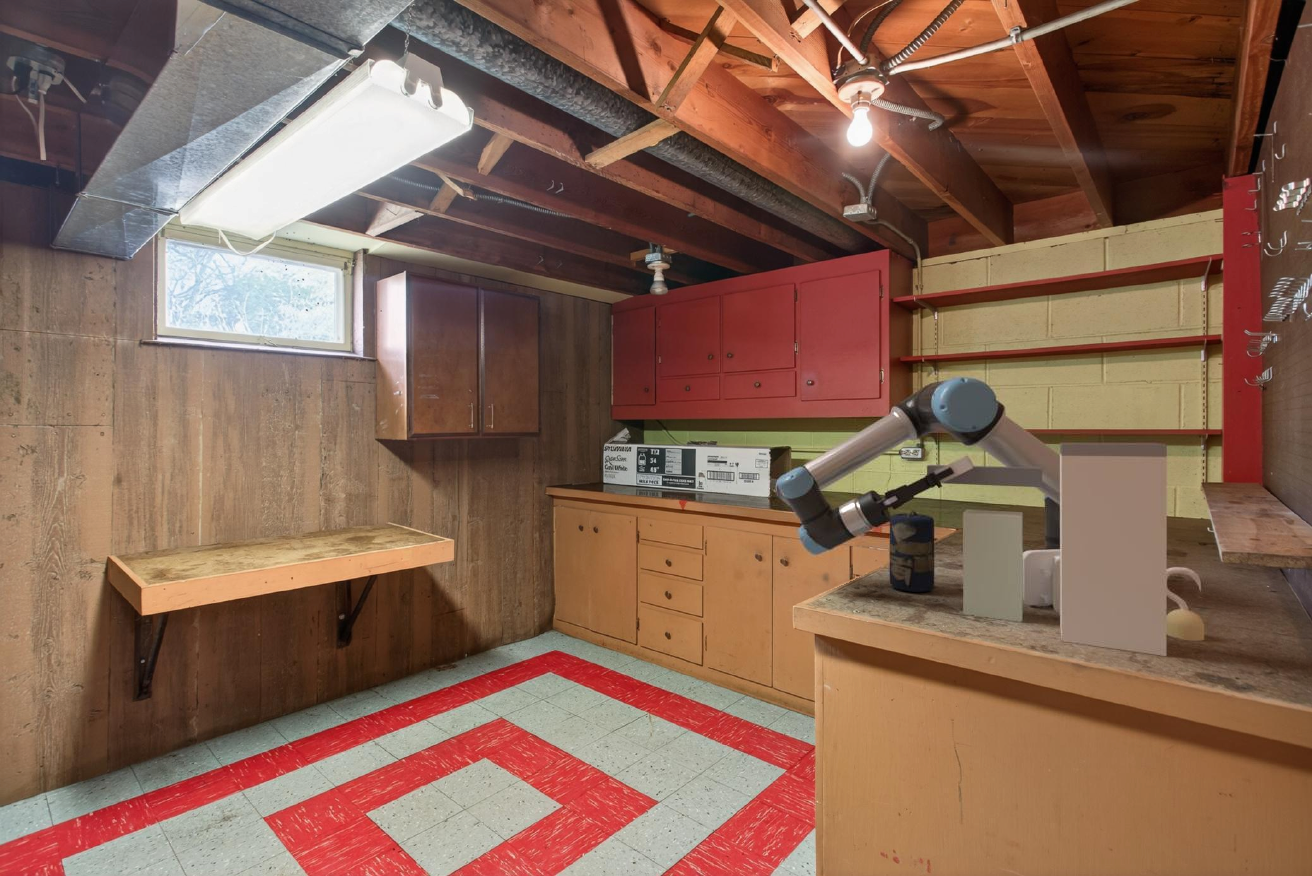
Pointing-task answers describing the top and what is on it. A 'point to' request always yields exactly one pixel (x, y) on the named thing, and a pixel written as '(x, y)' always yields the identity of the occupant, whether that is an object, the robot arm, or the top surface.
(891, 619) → the top surface
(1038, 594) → the cable organizer
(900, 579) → the canister
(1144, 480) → the socket tower
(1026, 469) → the bar
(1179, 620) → the hook
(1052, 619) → the top surface
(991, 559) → the shelf
